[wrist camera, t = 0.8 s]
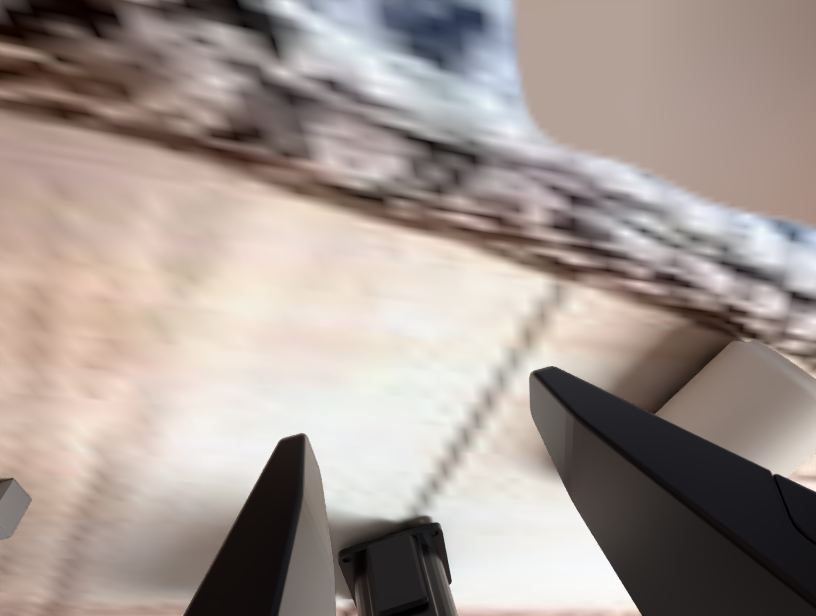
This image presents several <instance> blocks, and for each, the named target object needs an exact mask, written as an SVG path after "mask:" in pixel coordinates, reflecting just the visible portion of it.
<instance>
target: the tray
mask: <svg viewBox="0 0 816 616" xmlns="http://www.w3.org/2000/svg"><path fill="white" fill-rule="evenodd" d="M31 500H32V499H31V498H30V497H29V496H28V495H27V494H26V492H25V491H24V490H23V489H22V488H21V487H20V486H19V484H18V483H17V482H16V481H15V480H14V479H12V480H8V481H4V482H1V483H0V540H2V539H5V538H9V537H11V536H12V535H13V533H14V531H15V529H16V527H17V526H18V524H19V522H20V520H21V518H22V517H23V515H24V513H25V511H26V509H27V508H28V506H29V504H30V502H31Z"/></svg>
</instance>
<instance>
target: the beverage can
mask: <svg viewBox="0 0 816 616" xmlns="http://www.w3.org/2000/svg"><path fill="white" fill-rule="evenodd" d="M654 415H657V416H659V417H661V418H663V419H665V420H667V421H669V422H671V423H673V424H675V425H677V426H679V427H681V428H684V429H686V430H688V431H690V432H692V433H694V434H696V435H698V436H700V437H702V438H704V439H706V440H708V441H710V442H713V443H715V444H717V445H719V446H721V447H723V448H725V449H727V450H729V451H731V452H733V453H735V454H737V455H739V456H742V457H744V458H746V459H748V460H750V461H752V462H754V463H756V464H758V465H760V466H762V467H764V468H766V469H769V470H770V471H771V472H772V474H773V475H774V474H779V475H781V476H783V477H787V476H789V475H790V474H791V473H792V472H794V471H795V470H796V469H797V468H799V467H800V466H801V465H802V464H804V463H805V462H806V461H807V460H808V459H810V458H811V457H812V456H813V455H815V454H816V379H815V378H814V377H812V376H811V375H810V374H808V373H807V372H805V371H804V370H803V369H801V368H800V367H798V366H797V365H795V364H794V363H792V362H791V361H790V360H788V359H787V358H785V357H783V356H782V355H780V354H779V353H777V352H776V351H774V350H773V349H771V348H769V347H768V346H766V345H764V344H762V343H760V342H758V341H755V340H754V341H751V342H742V341H732V342H730V343H729V344H728V345H727V346H726V347H725V348H724V349H723V350H722V351H721V352H720V353H719V354H718V355H717V356H716V357H715V358H713V359H712V360H711V361H710V362H709V363H708V364H707V365H706V366H705V367H704V368H703V369H702V370H701V371H700V372H699V373H698V374H697V375H695V376H694V377H693V378H692V379H691V380H690V381H689V382H688V383H687V384H686V385H685V386H684V387H683V388H682V389H681V390H680V391H679V392H677V393H676V394H675V395H674V396H673V397H672V398H671V399H670V400H669V401H668V402H667V403H666V404H665V405H664V406H663V407H662V408H661V409H659V410H658V411H657V412H656V413H655V414H654Z"/></svg>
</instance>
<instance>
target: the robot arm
mask: <svg viewBox="0 0 816 616" xmlns="http://www.w3.org/2000/svg"><path fill="white" fill-rule="evenodd" d="M529 387H530V410H531V414H532V417H533V420H534V422H535V425H536V427H537V429H538V431H539V433H540V435H541V437H542V439H543V442H544V444H545V446H546V448H547V450H548V452H549V454H550V456H551V458H552V461H553V463H554V465H555V467H556V469H557V471H558V473H559V475H560V478H561V480H562V482H563V484H564V486H565V488H566V490H567V492H568V494H569V496H570V498H571V500H572V502H573V503H574V505H575V507H576V508H577V510H578V512H579V514H580V515H581V517H582V518H583V520H584V522H585V523H586V525H587V527H588V528H589V530H590V531H591V533H592V535H593V536H594V538H595V540H596V541H597V543H598V545H599V546H600V548H601V549H602V551H603V553H604V554H605V556H606V558H607V559H608V561H609V562H610V564H611V566H612V567H613V569H614V571H615V572H616V574H617V575H618V577H619V579H620V580H621V582H622V584H623V585H624V587H625V589H626V590H627V592H628V593H629V595H630V597H631V598H632V600H633V602H634V603H635V605H636V606H637V608H638V610H639V611H640V613H641V615H642V616H816V492H815V491H813V490H810V489H808V488H806V487H804V486H802V485H800V484H798V483H796V482H794V481H792V480H790V479H788V478H786V477H783V476H781V475H779V474H774V475H773V474H772V472H771V471H770V470H769V469H766V468H764V467H762V466H760V465H758V464H756V463H754V462H752V461H750V460H748V459H746V458H744V457H742V456H739V455H737V454H735V453H733V452H731V451H729V450H727V449H725V448H723V447H721V446H719V445H717V444H715V443H713V442H710V441H708V440H706V439H704V438H702V437H700V436H698V435H696V434H694V433H692V432H690V431H688V430H686V429H684V428H681V427H679V426H677V425H675V424H673V423H671V422H669V421H667V420H665V419H663V418H661V417H659V416H657V415H654V414H652V413H650V412H648V411H646V410H644V409H642V408H640V407H638V406H636V405H634V404H632V403H630V402H628V401H625V400H623V399H621V398H619V397H617V396H615V395H613V394H611V393H609V392H607V391H605V390H603V389H601V388H599V387H596V386H594V385H592V384H590V383H588V382H586V381H584V380H582V379H580V378H578V377H576V376H574V375H572V374H569V373H567V372H565V371H563V370H561V369H559V368H557V367H553V366H550V367H546V368H542V369H538V370H535V371H533V372H532V373H531V374H530V377H529ZM338 562H339V565H340V567H341V570H342V572H343V575H344V577H345V580H346V583H347V585H348V588H349V590H350V593H351V595H352V598H353V600H354V603H355V605H356V608H357V613H358V616H458V614H457V611H456V607H455V604H454V601H453V597H452V594H451V590H450V587H449V585H450V584H451V582H452V580H451V575H450V569H449V564H448V559H447V553H446V548H445V543H444V537H443V532H442V529H441V525H440V524H439V523H430V524H427V525H423V526H420V527H417V528H413V529H410V530H407V531H403V532H400V533H397V534H393V535H390V536H386V537H383V538H380V539H376V540H373V541H370V542H366V543H363V544H360V545H356V546H353V547H350V548H346V549H343V550H341V551H340V552H339V553H338ZM183 616H336V602H335V576H334V564H333V555H332V548H331V541H330V534H329V527H328V520H327V513H326V506H325V499H324V492H323V485H322V479H321V474H320V470H319V466H318V464H317V461H316V458H315V455H314V453H313V450H312V447H311V444H310V442H309V439H308V437H307V435H306V434H304V433H300V434H297V435H293V436H289V437H285V438H283V439H281V440H280V441H279V442H278V444H277V446H276V448H275V449H274V451H273V453H272V455H271V457H270V459H269V460H268V462H267V464H266V466H265V468H264V469H263V471H262V473H261V475H260V477H259V479H258V480H257V482H256V484H255V486H254V488H253V489H252V491H251V493H250V495H249V497H248V499H247V500H246V502H245V504H244V506H243V508H242V510H241V511H240V513H239V515H238V517H237V519H236V520H235V522H234V524H233V526H232V528H231V530H230V531H229V533H228V535H227V537H226V539H225V540H224V542H223V544H222V546H221V548H220V550H219V551H218V553H217V555H216V557H215V559H214V561H213V562H212V564H211V566H210V568H209V570H208V571H207V573H206V575H205V577H204V579H203V581H202V582H201V584H200V586H199V588H198V590H197V591H196V593H195V595H194V597H193V599H192V601H191V602H190V604H189V606H188V608H187V610H186V612H185V613H184V615H183Z"/></svg>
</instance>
